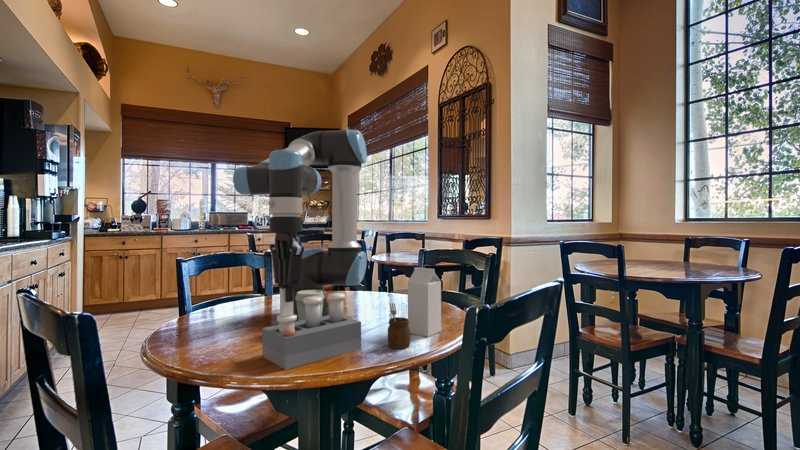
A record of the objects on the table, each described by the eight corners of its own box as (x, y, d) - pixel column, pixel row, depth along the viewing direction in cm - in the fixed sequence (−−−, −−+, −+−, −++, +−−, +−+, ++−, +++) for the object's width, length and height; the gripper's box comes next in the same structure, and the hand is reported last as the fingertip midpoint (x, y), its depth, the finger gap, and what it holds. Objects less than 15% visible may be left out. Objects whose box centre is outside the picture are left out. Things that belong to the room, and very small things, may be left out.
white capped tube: (273, 344, 96) (273, 315, 96) (291, 340, 99) (291, 312, 99) (282, 349, 93) (282, 319, 92) (300, 345, 96) (300, 315, 96)
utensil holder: (414, 344, 107) (414, 299, 106) (402, 351, 101) (402, 304, 101) (395, 341, 110) (395, 297, 109) (382, 347, 104) (382, 301, 104)
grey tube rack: (262, 356, 98) (262, 323, 98) (335, 338, 112) (335, 309, 112) (285, 369, 89) (285, 333, 89) (361, 348, 103) (361, 317, 103)
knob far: (324, 321, 105) (324, 294, 105) (338, 318, 108) (338, 292, 108) (333, 324, 102) (333, 296, 102) (348, 321, 105) (348, 294, 105)
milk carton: (428, 337, 113) (427, 270, 113) (407, 333, 117) (407, 268, 117) (441, 331, 118) (441, 267, 118) (421, 328, 123) (421, 266, 122)
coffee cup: (318, 336, 114) (317, 294, 114) (290, 335, 116) (289, 294, 116) (329, 328, 122) (328, 289, 122) (303, 327, 124) (302, 288, 124)
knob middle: (300, 325, 101) (299, 298, 101) (316, 322, 104) (315, 295, 104) (309, 329, 97) (309, 300, 97) (325, 326, 100) (325, 298, 100)
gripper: (259, 216, 98) (259, 312, 98) (284, 215, 88) (284, 322, 88) (287, 216, 103) (288, 308, 103) (314, 215, 93) (314, 317, 93)
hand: (286, 314), depth 96 cm, fingers closed
